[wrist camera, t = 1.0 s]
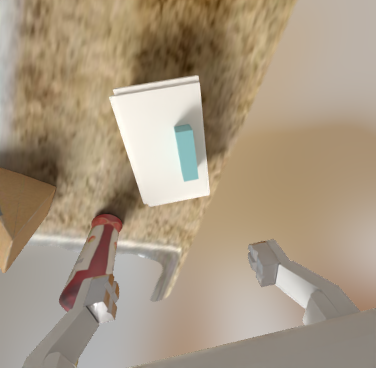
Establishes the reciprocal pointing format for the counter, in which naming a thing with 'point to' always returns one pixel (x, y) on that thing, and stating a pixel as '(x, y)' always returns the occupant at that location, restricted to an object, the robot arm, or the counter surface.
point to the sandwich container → (20, 212)
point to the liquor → (93, 257)
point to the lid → (164, 138)
